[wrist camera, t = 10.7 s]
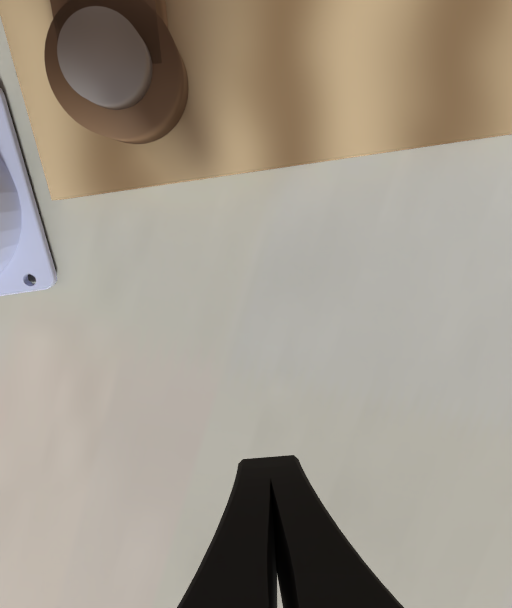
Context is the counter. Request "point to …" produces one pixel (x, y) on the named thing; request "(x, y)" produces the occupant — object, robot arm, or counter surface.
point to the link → (116, 67)
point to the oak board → (285, 87)
